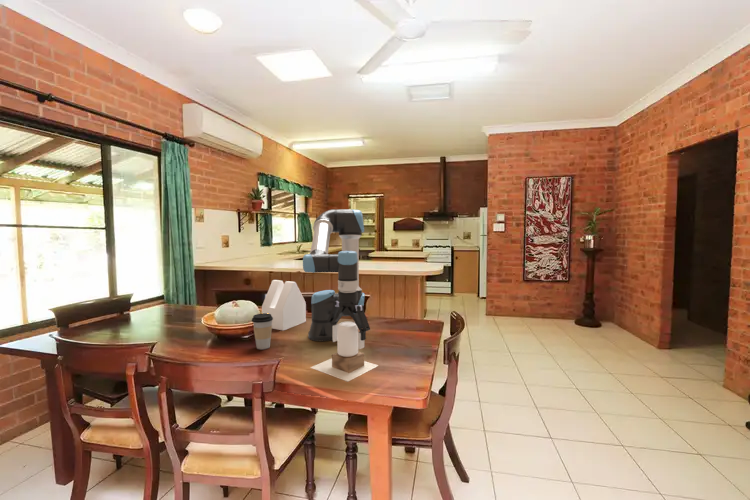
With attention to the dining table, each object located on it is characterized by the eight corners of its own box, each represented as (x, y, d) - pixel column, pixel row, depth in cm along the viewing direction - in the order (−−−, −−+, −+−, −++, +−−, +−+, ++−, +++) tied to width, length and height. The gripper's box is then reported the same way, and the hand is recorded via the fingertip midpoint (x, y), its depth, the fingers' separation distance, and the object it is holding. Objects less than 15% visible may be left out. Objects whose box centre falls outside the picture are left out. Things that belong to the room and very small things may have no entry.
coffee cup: (277, 345, 165) (277, 313, 164) (265, 351, 156) (264, 319, 155) (260, 342, 168) (260, 312, 167) (247, 349, 159) (247, 317, 158)
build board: (310, 370, 136) (310, 367, 136) (341, 356, 150) (341, 354, 150) (348, 384, 124) (348, 381, 124) (378, 368, 138) (378, 365, 138)
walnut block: (331, 367, 136) (331, 354, 136) (347, 360, 144) (347, 348, 143) (349, 373, 131) (348, 360, 131) (364, 365, 138) (364, 353, 138)
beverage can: (337, 350, 141) (337, 321, 140) (357, 349, 141) (357, 320, 140) (337, 358, 133) (336, 327, 132) (358, 357, 133) (358, 326, 132)
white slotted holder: (285, 318, 212) (285, 277, 210) (305, 321, 205) (305, 279, 203) (262, 326, 195) (261, 282, 193) (283, 330, 188) (282, 284, 186)
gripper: (318, 288, 140) (319, 340, 141) (366, 296, 124) (366, 354, 126) (331, 286, 146) (332, 335, 147) (379, 293, 130) (379, 348, 132)
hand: (348, 344), depth 137 cm, fingers open, 13 cm apart
